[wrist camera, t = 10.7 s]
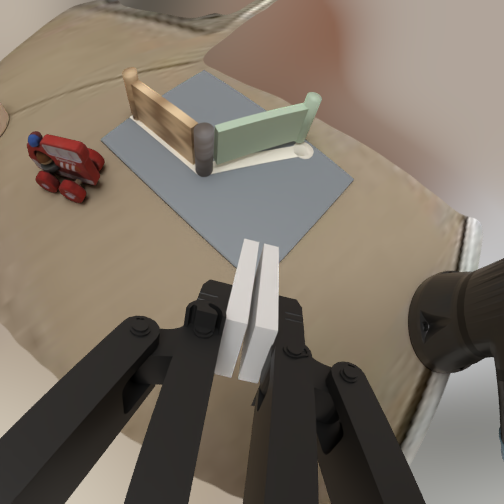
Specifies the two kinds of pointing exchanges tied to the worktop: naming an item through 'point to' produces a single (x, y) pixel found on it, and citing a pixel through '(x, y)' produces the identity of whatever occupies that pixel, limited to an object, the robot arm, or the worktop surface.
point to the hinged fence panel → (264, 130)
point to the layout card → (232, 176)
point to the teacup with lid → (3, 119)
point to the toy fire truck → (64, 164)
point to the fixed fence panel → (171, 123)
